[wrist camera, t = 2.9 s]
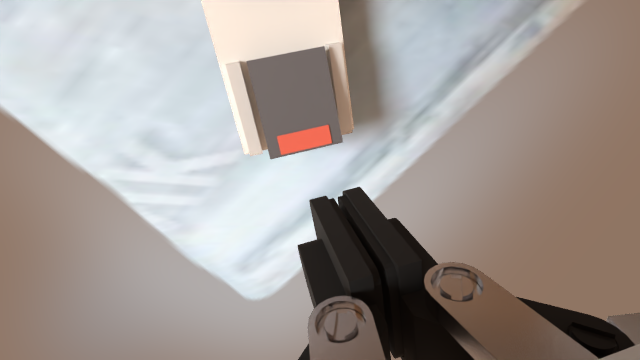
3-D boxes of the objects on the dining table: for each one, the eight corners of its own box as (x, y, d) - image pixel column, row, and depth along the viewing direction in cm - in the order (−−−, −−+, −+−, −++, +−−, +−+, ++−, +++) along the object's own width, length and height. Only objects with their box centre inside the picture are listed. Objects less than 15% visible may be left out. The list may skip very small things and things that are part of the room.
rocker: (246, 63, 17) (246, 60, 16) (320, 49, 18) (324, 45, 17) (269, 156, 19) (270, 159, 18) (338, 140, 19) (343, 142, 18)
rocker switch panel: (171, -121, 16) (153, -160, 13) (305, -137, 17) (322, -178, 14) (243, 139, 22) (245, 159, 19) (340, 117, 23) (358, 132, 20)
